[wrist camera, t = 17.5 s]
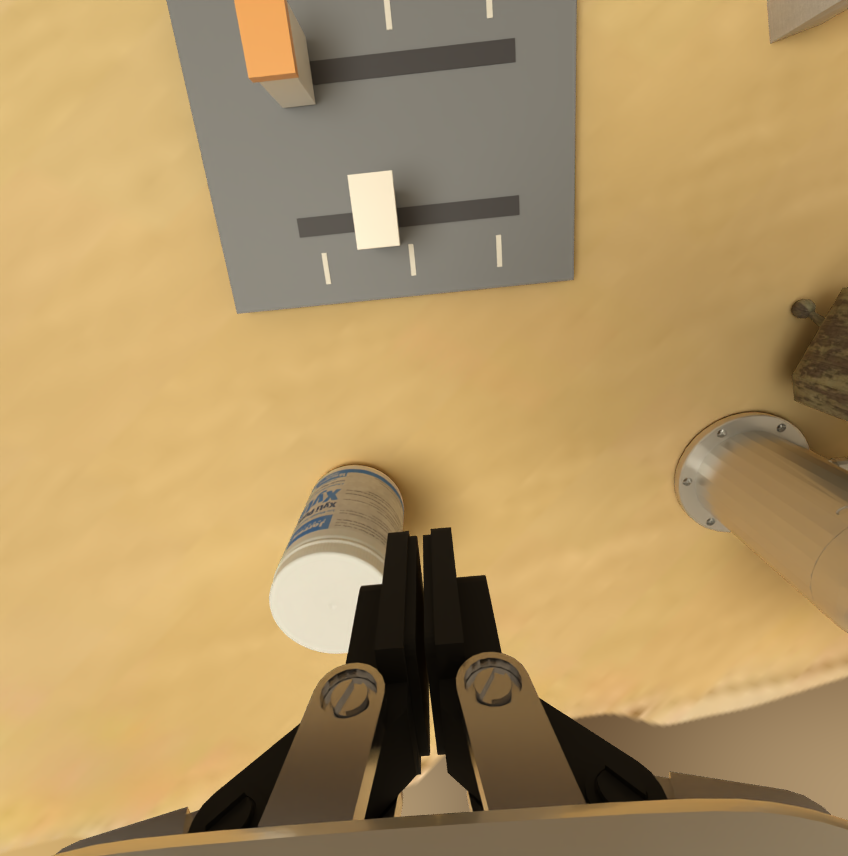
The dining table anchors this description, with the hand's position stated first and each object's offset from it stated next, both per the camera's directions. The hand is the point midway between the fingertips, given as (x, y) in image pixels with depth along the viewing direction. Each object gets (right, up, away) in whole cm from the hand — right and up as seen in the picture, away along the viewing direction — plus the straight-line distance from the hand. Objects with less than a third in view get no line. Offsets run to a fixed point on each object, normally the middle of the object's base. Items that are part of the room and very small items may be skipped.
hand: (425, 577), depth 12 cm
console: (-3, +26, +25) cm, 36 cm away
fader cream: (-3, +20, +24) cm, 32 cm away
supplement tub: (-7, -4, +36) cm, 37 cm away
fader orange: (-9, +29, +21) cm, 37 cm away
